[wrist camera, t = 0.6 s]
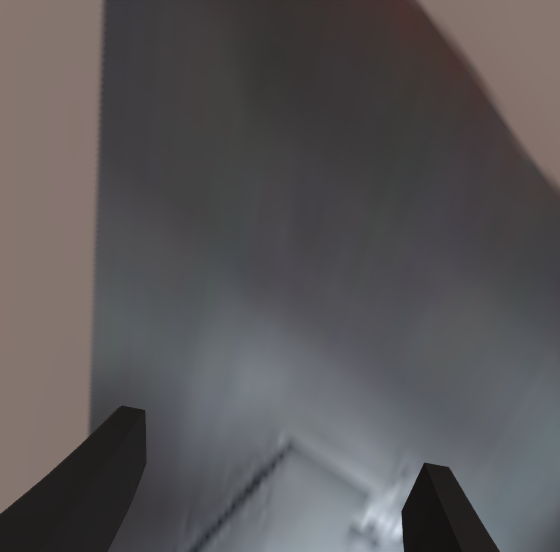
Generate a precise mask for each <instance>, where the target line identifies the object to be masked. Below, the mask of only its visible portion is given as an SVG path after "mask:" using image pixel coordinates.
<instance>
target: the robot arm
mask: <svg viewBox="0 0 560 552" xmlns="http://www.w3.org/2000/svg"><path fill="white" fill-rule="evenodd" d="M145 465H146V424H145V410H142V409H137V408H132V407H126V406H121V407H119V408H118V409H117V410H116V411H115V412H114V413H113V414H112V415H111V416H110V417H109V418H108V419H107V420H106V421H105V422H104V423H103V424H102V425H101V426H100V427H99V428H98V429H97V430H96V431H94V432H93V433H92V434H91V435H90V436H89V437H88V438H87V439H86V440H85V441H84V442H83V443H82V444H81V445H80V446H79V447H78V448H77V449H75V450H74V451H73V452H72V453H71V454H70V455H69V456H68V457H67V458H66V459H64V460H63V461H62V462H61V463H60V464H59V465H58V466H57V467H56V468H54V469H53V470H52V471H51V472H50V473H49V474H48V475H47V476H46V477H44V478H43V479H42V480H41V481H40V482H38V483H37V484H36V485H35V486H34V487H32V488H31V489H30V490H29V491H28V492H27V493H25V494H24V495H23V496H22V497H20V498H19V499H18V500H17V501H16V502H14V503H13V504H12V505H11V506H10V507H8V509H6V510H5V511H3V512H2V513H1V514H0V552H107V551H108V549H109V547H110V545H111V543H112V541H113V539H114V537H115V535H116V533H117V531H118V529H119V527H120V525H121V523H122V521H123V519H124V517H125V515H126V513H127V511H128V509H129V507H130V505H131V502H132V500H133V497H134V495H135V492H136V489H137V487H138V484H139V481H140V479H141V476H142V473H143V471H144V468H145ZM402 529H403V544H404V552H500V551H499V549H498V548H497V546H496V545H495V543H494V542H493V540H492V538H491V537H490V535H489V533H488V532H487V530H486V529H485V527H484V525H483V524H482V522H481V520H480V519H479V517H478V515H477V514H476V512H475V510H474V509H473V507H472V505H471V504H470V502H469V500H468V499H467V497H466V495H465V493H464V492H463V490H462V488H461V487H460V485H459V483H458V482H457V480H456V478H455V477H454V475H453V473H452V471H451V470H450V469H449V467H445V466H440V465H434V464H429V463H424V464H423V467H422V469H421V471H420V473H419V475H418V477H417V479H416V482H415V484H414V486H413V488H412V490H411V492H410V494H409V497H408V499H407V501H406V503H405V505H404V507H403V509H402Z"/></svg>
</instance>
